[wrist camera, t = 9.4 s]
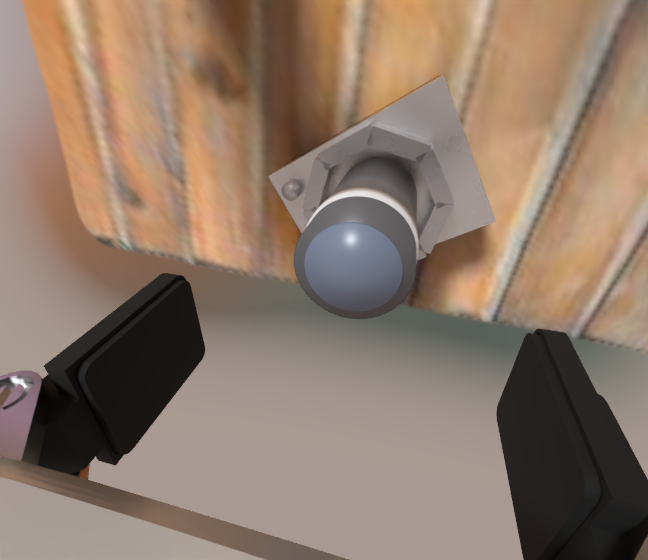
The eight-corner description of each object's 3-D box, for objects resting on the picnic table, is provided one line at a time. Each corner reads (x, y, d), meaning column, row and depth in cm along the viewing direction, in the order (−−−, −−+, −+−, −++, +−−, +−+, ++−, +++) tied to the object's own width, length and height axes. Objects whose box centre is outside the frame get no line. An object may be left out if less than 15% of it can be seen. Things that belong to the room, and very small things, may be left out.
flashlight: (338, 153, 22) (287, 202, 13) (424, 158, 21) (428, 213, 12) (336, 231, 25) (293, 313, 16) (412, 238, 24) (409, 330, 15)
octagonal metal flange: (439, 75, 23) (446, 75, 17) (483, 197, 26) (502, 233, 20) (290, 161, 28) (256, 184, 22) (342, 255, 31) (324, 297, 25)
